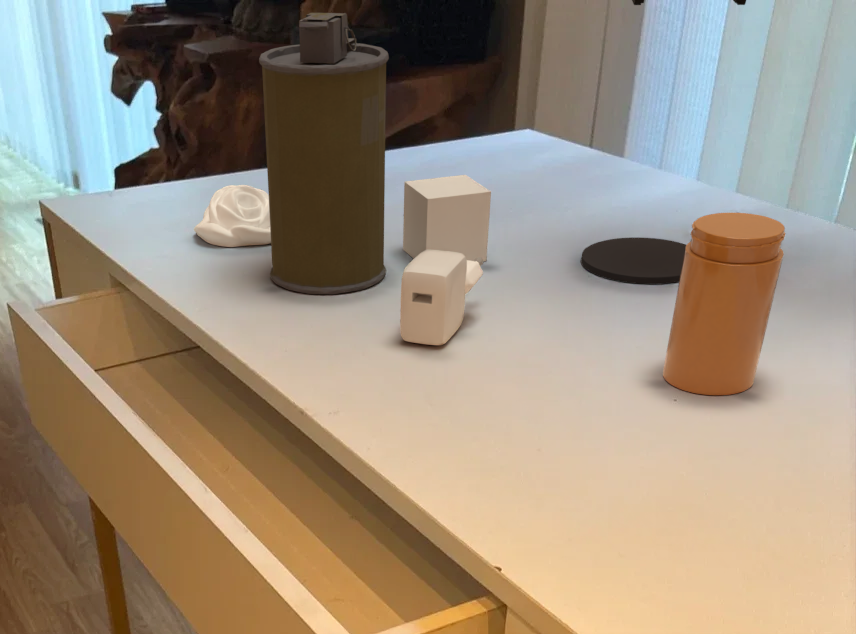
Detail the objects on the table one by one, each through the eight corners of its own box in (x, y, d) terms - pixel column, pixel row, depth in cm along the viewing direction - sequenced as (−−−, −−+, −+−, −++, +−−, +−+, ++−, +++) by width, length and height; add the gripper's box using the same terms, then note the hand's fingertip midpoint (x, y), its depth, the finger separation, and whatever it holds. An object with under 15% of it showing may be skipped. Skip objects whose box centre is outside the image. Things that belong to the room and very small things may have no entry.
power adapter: (435, 296, 96) (438, 224, 92) (490, 302, 94) (495, 230, 91) (391, 343, 88) (392, 267, 84) (449, 351, 87) (454, 274, 83)
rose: (236, 167, 113) (312, 180, 108) (239, 213, 116) (314, 228, 111) (169, 191, 107) (246, 206, 102) (174, 239, 110) (250, 256, 105)
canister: (366, 299, 96) (367, 28, 83) (253, 289, 98) (236, 24, 86) (400, 259, 103) (406, 5, 91) (294, 250, 106) (285, 3, 93)
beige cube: (425, 269, 101) (427, 199, 97) (402, 249, 106) (403, 181, 102) (486, 261, 103) (491, 191, 99) (461, 241, 107) (465, 174, 103)
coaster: (699, 245, 104) (700, 238, 104) (712, 285, 96) (714, 278, 96) (579, 242, 106) (580, 236, 105) (582, 282, 98) (583, 275, 97)
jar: (746, 361, 84) (780, 211, 77) (760, 397, 79) (797, 241, 72) (659, 358, 85) (685, 210, 78) (666, 393, 80) (695, 239, 73)
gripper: (609, -307, 74) (574, 10, 85) (887, -317, 71) (813, 10, 83) (604, -301, 79) (572, -5, 91) (861, -311, 77) (795, -6, 88)
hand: (687, 0), depth 87 cm, fingers closed on jar lid, 7 cm apart
